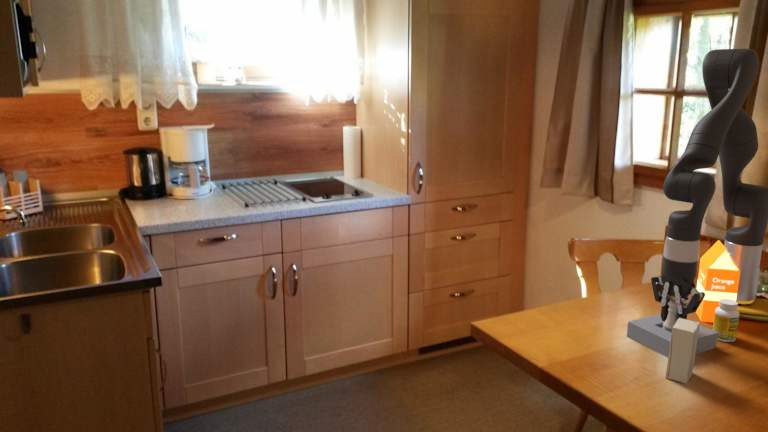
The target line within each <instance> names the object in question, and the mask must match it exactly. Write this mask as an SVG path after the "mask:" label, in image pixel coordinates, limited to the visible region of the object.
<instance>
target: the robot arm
mask: <svg viewBox="0 0 768 432" xmlns="http://www.w3.org/2000/svg"><path fill="white" fill-rule="evenodd" d="M701 69H702V70H701V71H702V72H701V73H702V80H703V84H704V88H705V89H704V90H705V92H706V95H707V98H708V103H709V105H710V106H709V107H710V111H709V112H707V113H706V114H705V115H704V116H703V117H702V118H701V119H699V121H697V123H696V124H695V125H694V127H693V129H692V131H691V133H690V136H689V139H688V140H687V141H688V142H687V144H686V147H685V150H684V151H683V153H682V155H681V156H680V157H679V159H678V160H677V162H676V163H675V164H674V166H673V167H672V168H671V170H669V172H668V173H667V175H666V177H665V178H664V182H663V185H662V187H663V193H664V195H665V197H666V198H667V199H669V200H672V201H677V202H683V203H689V204H692V206H691V208H690V209H689V210H687V209H686V210H676V211H675V210H674V211H672V212H671V213H670V214H669V215H668V219H667V229H666V237H665V241H664V245H663V255H662V263H661V264H662V265H661V273H662V274H661V275H656V276H652V277H650V281H651V286H652V287H651V288H652V291H653V292H652V293H653V296H654V300H655V302H656V303H657V302H659V303H660V306H661V308H660V313H661V318H662V321H664V322H665V320H666V319H667V316H668V312H669V311H668V308H669V305H668V304H667V303H668V302H669V301H670V299H673V300H674V298H675V300H676V304H677V307H678V313H677V318H676V321H677V320H678V318H683V319H687V320H688V315H690V314H694V313H696V311H697V309H698V307H699V305H700V304H701V302H702V300H703V299H704V297H705V293H704V292H699V291H698V290H697V288H696V284H695V279H696V277H697V275H698V274H697V273H698V266H699V260H700V251H701V250H700V249H701V247H700V245H701V242H700V241H701V232H702V225H703V221H704V218H705V214H706V212H707V210H708V207H709V205H710V204H711V201H712V200H713V197H714V195H715V192H716V188H717V186H716V185H717V184H716V181H715V179H714V177H713V176H712V175H711V174H710V173H709V174H708V173H706V172H705V173H704V172H697V170H701V169H709V168H712V167H713V166H715V164H716V162H717V161H718V159H719V163H720V164H719V165H720V170H721V182H722V184H721V185H722V201H723V208H724V210H725V212H726V213H727V214H729V215H731V216H735V217H740V218H746V219H750V220H749V223H748V224H747V225H743V226H735V227H734V226H733V227H730V228H728V229H726V232H725V237H724V244H723V245H724V247H725V248H726V249H727V251H728V253H729V255H730V256H731V258H732V259H733V261H734V263H735V264H736V266H737V267H738V269H739V270H740V277H739V284H738V291H737V299H736V301H751V300H754V298H756V299H757V294H758V287H759V280H760V275H761V268H760V265H761V261H762V260H761V259H762V252H763V245H764V239H765V235H766V232H767V227H768V186H766V185H760V184H759V185H757V184H752V183H751V184H750V183H746V182H743V181H741V174H742V172H743V171H744V169H746V167H747V166H748V165H749V164H750V163H751V162H752V161H753V159H754V158H755V157H756V155H757V152H758V150H759V138H758V132H757V131H758V130H757V129H758V128H757V126H756V123H755V122H754V120H753V119H752V118H751V116H750V115H749V114H748V113H747V112H746V110H744V109H743V108H742V106H743V104H744V102H745V100H746V99H747V96H748V95H749V93H750V91H751V90H752V87H753V86H754V84H755V81H756V80H757V77H758V74H759V69H760V59H759V54H758V52H757V51H756V50H754V49H751V48H721V49H720V48H719V49H713V50H710V51H708V52H707V53H706V54H705V55H704V58H703V62H702V68H701ZM754 301H755V300H754Z"/></svg>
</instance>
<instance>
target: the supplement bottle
mask: <svg viewBox="0 0 768 432" xmlns="http://www.w3.org/2000/svg"><path fill="white" fill-rule="evenodd" d="M719 306H720V307H717V308H716V309H715V314H714V322H712V323H713V324H712V328H711V330H713V331H715V332H717V333H718V334H717V341H720V342H725V343H731V342H735V341H736V340H737V335H738V328H739V321H740V312H739V310H738V307H739V305H738V302H736V301H734V300H731V299H720V301H719Z"/></svg>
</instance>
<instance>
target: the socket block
mask: <svg viewBox="0 0 768 432" xmlns="http://www.w3.org/2000/svg"><path fill="white" fill-rule="evenodd" d="M663 322H664V321H662V318H661V312H660V313H657V314H653V315H649V316H645V317H641V318H638V319H633V320H628V321H627V329H626V330H627V331H626V337H627V338H628V339H631V340H633V341H635V342H636V343H639V344H640V345H643V346H645V347H647V348H649V349H650V350H653V351H654V352H656V353H659V354H660V355H662V356H664V357H666V358H668V356H669V349H670V342H671V335H672V333H671V332H669V331H667V330H664V329H662V327H663ZM717 334H718V333H717V332H715V331H713V330H712V329H710V328H708V327H705V326H703V325H701V324H700V325H699V332H698V339H697V345H696V352H695V355H698V354H700V353H705V352H708V351H711V350H714V349H716V348H717V341H718V340H717Z"/></svg>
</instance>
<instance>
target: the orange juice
mask: <svg viewBox="0 0 768 432" xmlns="http://www.w3.org/2000/svg"><path fill="white" fill-rule="evenodd" d="M698 266H699V268H698V274H697V275H698V276H697V281H696V289H697V290H698V291H699V292H704V293H705V297H704V299H703V300H702V302H701V304H700V305H699V307H698V309H697V311H696V312H695V314H696V315H697V316H698V319H699V320H700V322H702V323H704V322H705V323H713V322H714V314H715V309H716V308H717V307H720V306H719V301H720V299H731V300H734V301H736V299H737V291H738V284H739V277H740V270H739V269H738V267H737V266H736V264H735V263H734V261H733V259H732V258H731V256H730V255H729V253H728V251H727V249H726V248H725V247H724V244H723V243H722V242H721V240H719V239H718V240H717V241H715V243H714V244H713V245H712V246H711V247H710V248H709V249H707V251H706V252H705V253H704V254H703V255H702V256H701V257H699V265H698Z"/></svg>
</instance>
